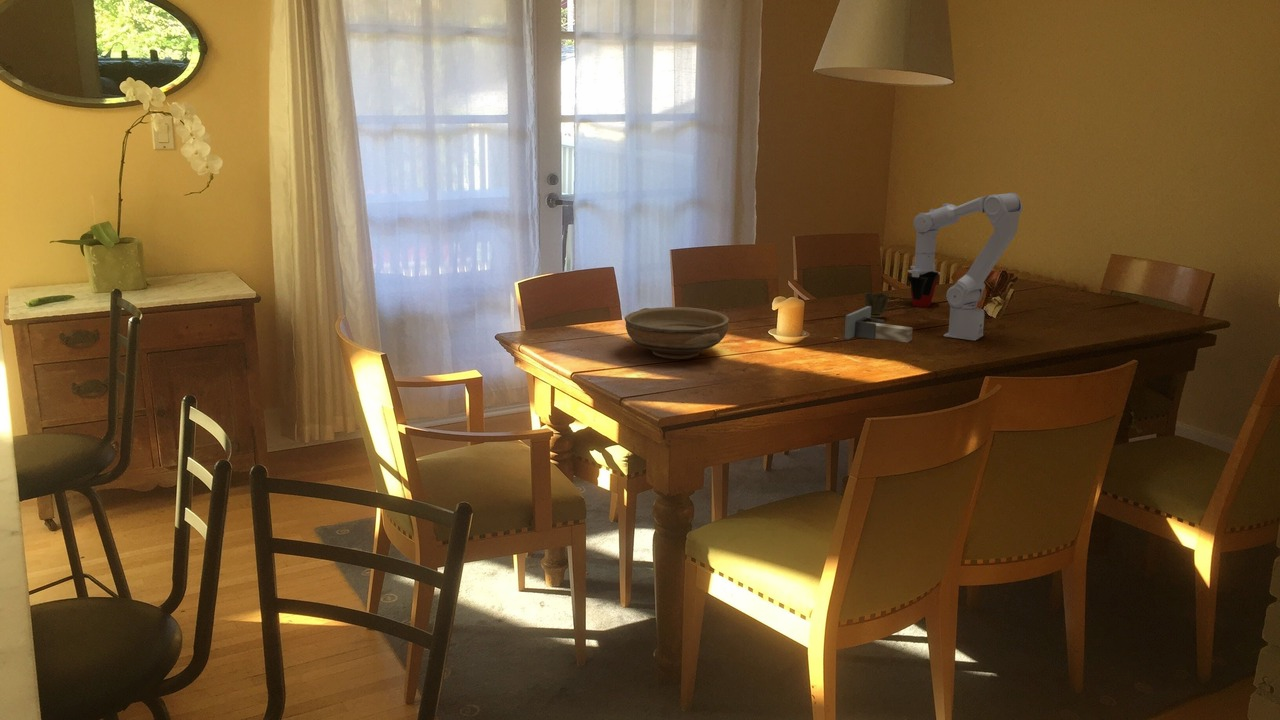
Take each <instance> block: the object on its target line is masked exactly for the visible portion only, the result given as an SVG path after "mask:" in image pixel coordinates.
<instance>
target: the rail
mask: <svg viewBox="0 0 1280 720" xmlns="http://www.w3.org/2000/svg"><path fill="white" fill-rule="evenodd" d="M868 323H874V322H868ZM875 324H876V331H875V339H878V340H886V341H887V340H888V341H892V342H900V343H910V342H911V341H912V340H913V327H910V326H903V325H895V324H889V323H884V324H881V323H875Z"/></svg>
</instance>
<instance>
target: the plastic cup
mask: <svg viewBox="0 0 1280 720" xmlns="http://www.w3.org/2000/svg"><path fill="white" fill-rule="evenodd" d="M912 270H913V269H908V270H907V273H908V276H909V275H912ZM933 272H937V271H936V270H935V271H933ZM938 272H939V274H938V276H937V278H936V279H935V282H934V284H933V287H932V290H931V294H930V296H927V295H923V294H922V298H921V300H917V299H914V298H913V292H912V287H911V284H910V283H909V286H910V295H911V302H912V303H911V304H912V306H913V307H917V308H930V307H931V304H932V300H933V297H934V294H935V290H936V286H937V282H938V280H939V277H940V275H941V274H942V273H941V272H940V271H938Z"/></svg>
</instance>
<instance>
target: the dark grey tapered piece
mask: <svg viewBox="0 0 1280 720" xmlns="http://www.w3.org/2000/svg"><path fill="white" fill-rule="evenodd" d="M889 297H890V295H889V294H888V293H884V292H882V291H881V292H877V291H876V293H875V294H874V293H873V292H870V291H868V292H865V293H864V304H865V305H864V307H867V306H871V318H874V319H882V314H884V313H885V311H886V310H887V306H888V302H889V301H888V300H889Z"/></svg>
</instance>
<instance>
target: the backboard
mask: <svg viewBox="0 0 1280 720" xmlns="http://www.w3.org/2000/svg"><path fill="white" fill-rule="evenodd" d="M865 317H867V318H871V306H867V307H865V306H864V307H862V308H860V309H858V310H855V311H853V312H851V313H848V314H845V320H844V321H845V325H844V327H845V328H844V340H850V339H852V338H854V335H855V322H856V321H858V320H860V319H862V318H865Z"/></svg>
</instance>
